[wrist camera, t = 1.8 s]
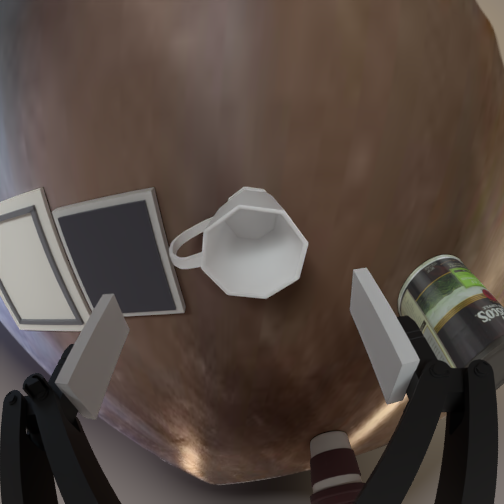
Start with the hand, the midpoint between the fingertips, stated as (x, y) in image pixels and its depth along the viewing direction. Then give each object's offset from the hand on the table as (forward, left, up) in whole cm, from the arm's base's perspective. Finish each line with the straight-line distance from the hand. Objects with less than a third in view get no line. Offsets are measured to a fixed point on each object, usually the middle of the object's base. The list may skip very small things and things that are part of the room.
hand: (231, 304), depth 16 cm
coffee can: (+12, +22, -12) cm, 28 cm away
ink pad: (+3, -12, -12) cm, 17 cm away
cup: (0, 0, -12) cm, 12 cm away
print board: (+3, -26, -12) cm, 29 cm away
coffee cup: (+46, +11, -12) cm, 49 cm away
